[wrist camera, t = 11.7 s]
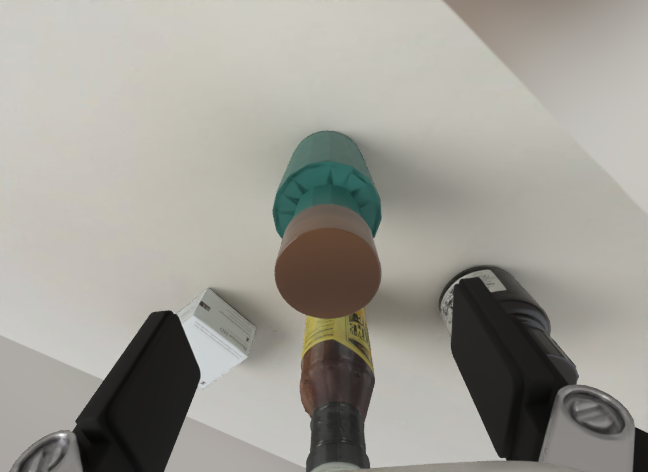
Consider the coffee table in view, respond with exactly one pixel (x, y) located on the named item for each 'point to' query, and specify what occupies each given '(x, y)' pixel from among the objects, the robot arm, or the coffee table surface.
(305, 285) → the stopper
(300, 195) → the bottle
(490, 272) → the ink bottle
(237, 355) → the small box
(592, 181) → the coffee table surface
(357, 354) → the sauce bottle
